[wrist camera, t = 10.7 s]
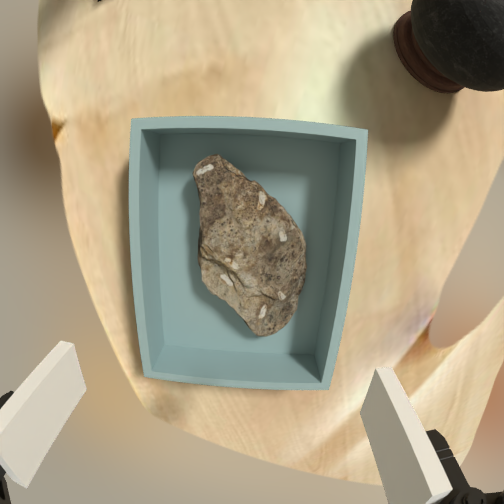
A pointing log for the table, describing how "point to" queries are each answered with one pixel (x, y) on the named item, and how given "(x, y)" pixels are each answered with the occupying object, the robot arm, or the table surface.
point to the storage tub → (187, 234)
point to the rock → (248, 247)
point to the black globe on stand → (453, 44)
